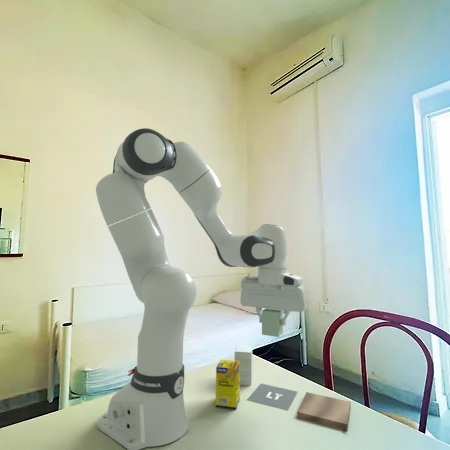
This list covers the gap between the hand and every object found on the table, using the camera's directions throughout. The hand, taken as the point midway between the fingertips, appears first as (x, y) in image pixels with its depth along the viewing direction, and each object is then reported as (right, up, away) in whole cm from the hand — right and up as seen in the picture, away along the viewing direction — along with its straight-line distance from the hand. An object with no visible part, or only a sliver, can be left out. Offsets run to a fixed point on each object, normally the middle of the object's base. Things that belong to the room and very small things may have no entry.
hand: (272, 323), depth 89 cm
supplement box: (-14, -21, -6) cm, 26 cm away
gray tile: (0, -21, -2) cm, 21 cm away
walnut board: (+12, -20, -10) cm, 26 cm away
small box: (-8, -22, +9) cm, 25 cm away
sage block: (0, -3, 0) cm, 3 cm away
